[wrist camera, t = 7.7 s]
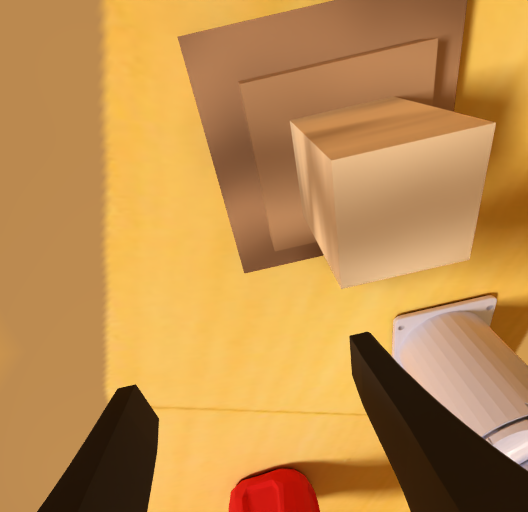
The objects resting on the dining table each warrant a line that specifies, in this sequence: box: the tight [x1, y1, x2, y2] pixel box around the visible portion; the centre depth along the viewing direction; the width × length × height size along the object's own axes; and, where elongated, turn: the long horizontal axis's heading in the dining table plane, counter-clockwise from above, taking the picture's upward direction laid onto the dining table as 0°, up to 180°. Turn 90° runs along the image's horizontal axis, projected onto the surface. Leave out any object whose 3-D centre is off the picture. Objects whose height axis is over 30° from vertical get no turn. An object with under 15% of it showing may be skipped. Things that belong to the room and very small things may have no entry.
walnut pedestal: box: [178, 0, 467, 273], centre depth 16 cm, size 12×12×3 cm
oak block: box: [290, 97, 496, 289], centre depth 12 cm, size 4×4×6 cm
